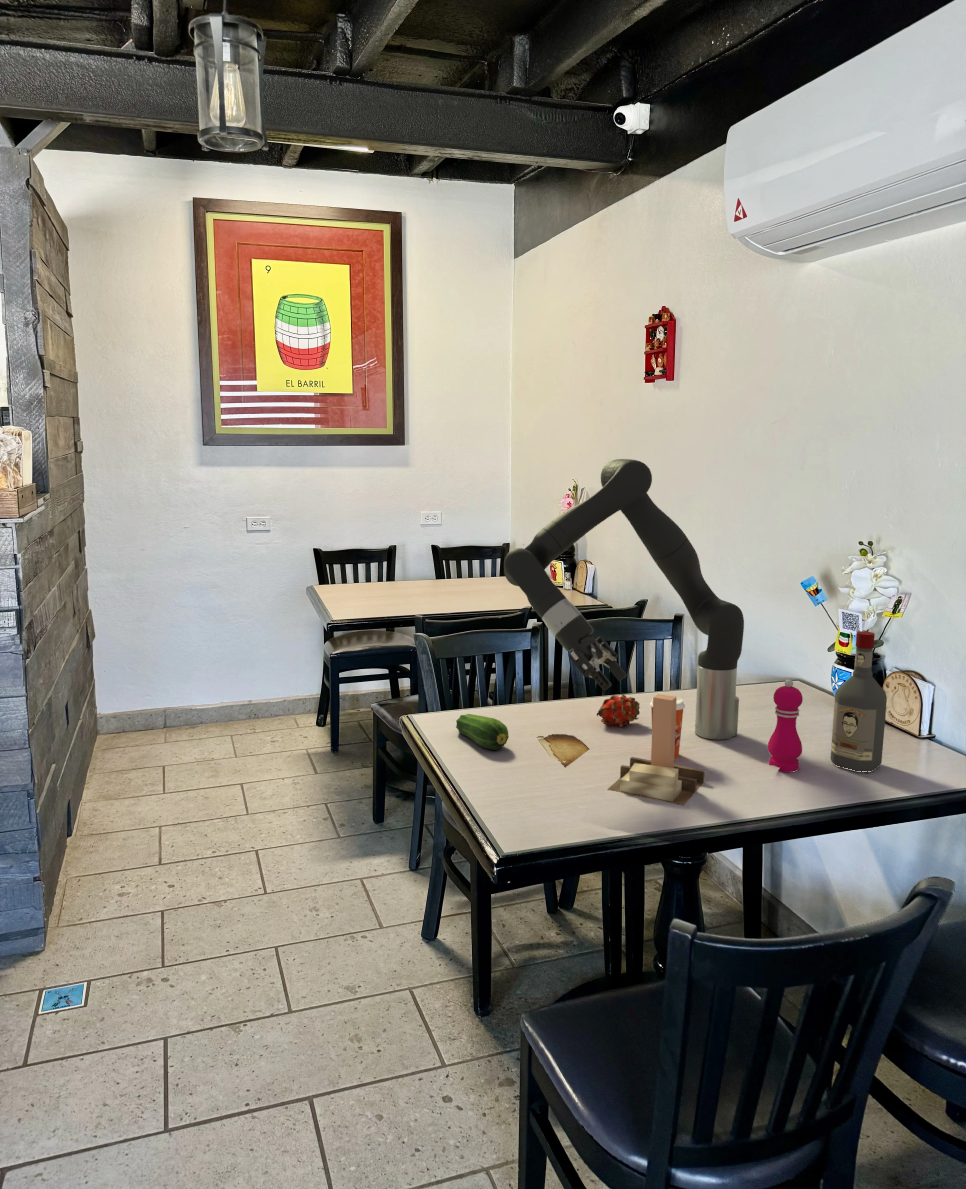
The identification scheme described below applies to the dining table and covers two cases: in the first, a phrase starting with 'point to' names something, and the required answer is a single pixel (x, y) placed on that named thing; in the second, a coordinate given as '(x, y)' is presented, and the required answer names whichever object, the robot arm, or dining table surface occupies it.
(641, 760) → the walnut rack
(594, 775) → the dining table surface
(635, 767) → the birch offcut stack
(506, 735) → the vegetable
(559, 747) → the parchment
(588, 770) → the dining table surface
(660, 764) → the terracotta block
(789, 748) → the pepper mill
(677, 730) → the paper cup
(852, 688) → the liquor
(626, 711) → the dragon fruit
